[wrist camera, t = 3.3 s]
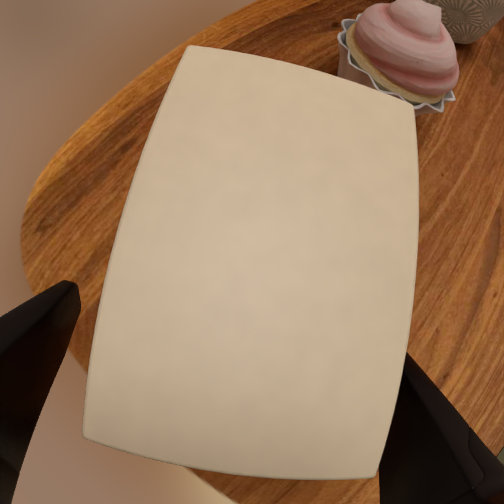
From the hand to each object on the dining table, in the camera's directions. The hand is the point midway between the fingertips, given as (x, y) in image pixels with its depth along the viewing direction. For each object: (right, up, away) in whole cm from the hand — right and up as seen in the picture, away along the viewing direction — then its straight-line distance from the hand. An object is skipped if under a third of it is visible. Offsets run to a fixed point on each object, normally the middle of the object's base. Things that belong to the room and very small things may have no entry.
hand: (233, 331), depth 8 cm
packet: (-1, 0, +9) cm, 9 cm away
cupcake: (+10, +14, +14) cm, 22 cm away
